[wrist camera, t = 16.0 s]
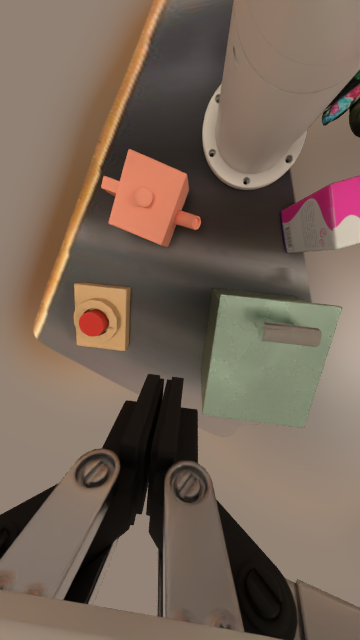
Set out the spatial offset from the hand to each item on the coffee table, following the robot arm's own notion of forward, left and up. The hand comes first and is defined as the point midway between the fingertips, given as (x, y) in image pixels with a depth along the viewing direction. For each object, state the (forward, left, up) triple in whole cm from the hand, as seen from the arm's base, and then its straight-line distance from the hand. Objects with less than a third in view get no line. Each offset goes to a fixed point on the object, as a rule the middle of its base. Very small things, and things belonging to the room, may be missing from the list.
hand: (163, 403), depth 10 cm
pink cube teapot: (-12, -5, -25) cm, 28 cm away
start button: (+4, -13, -22) cm, 25 cm away
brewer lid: (+5, +10, -15) cm, 19 cm away
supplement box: (-12, +15, -25) cm, 32 cm away
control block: (+4, -13, -25) cm, 29 cm away
